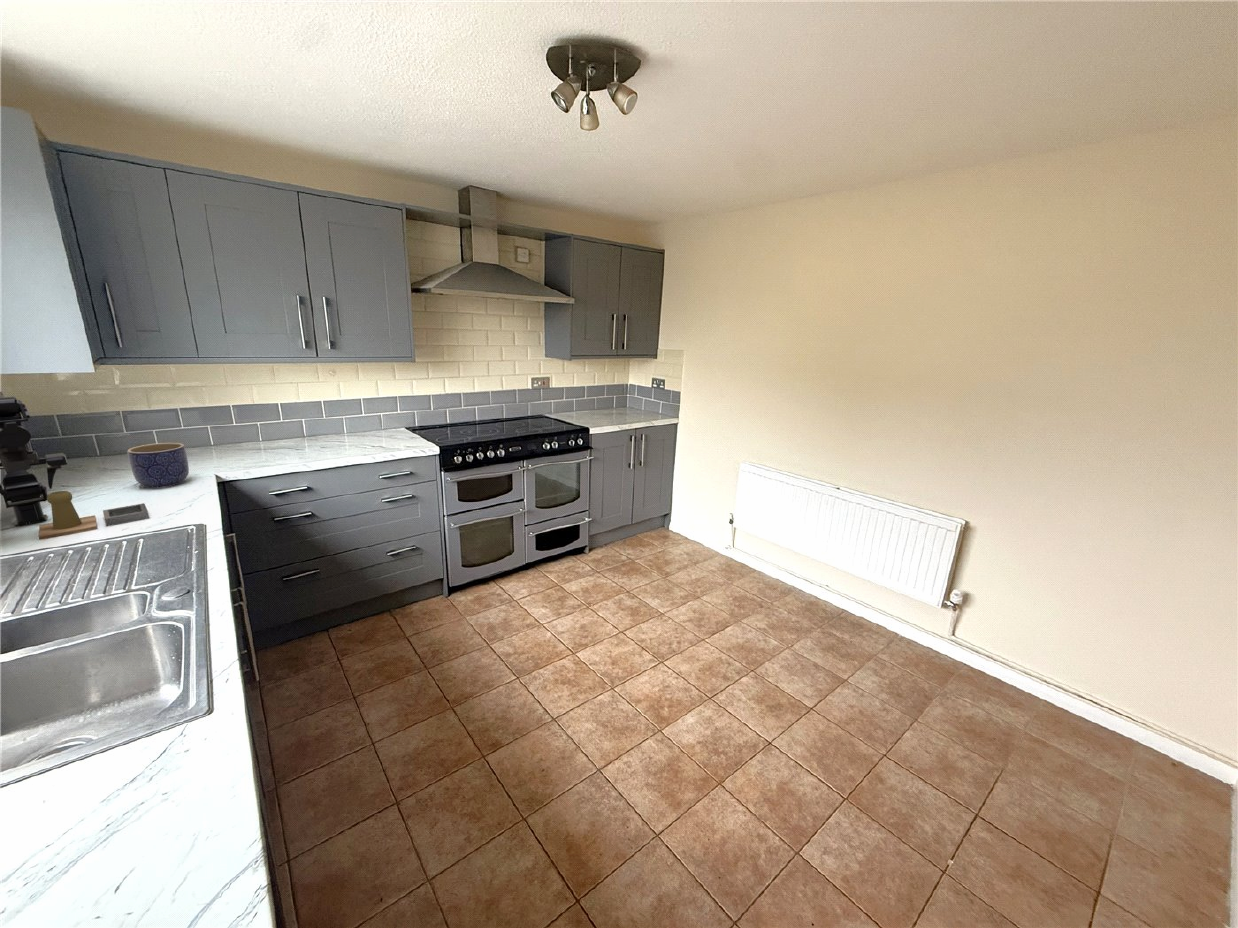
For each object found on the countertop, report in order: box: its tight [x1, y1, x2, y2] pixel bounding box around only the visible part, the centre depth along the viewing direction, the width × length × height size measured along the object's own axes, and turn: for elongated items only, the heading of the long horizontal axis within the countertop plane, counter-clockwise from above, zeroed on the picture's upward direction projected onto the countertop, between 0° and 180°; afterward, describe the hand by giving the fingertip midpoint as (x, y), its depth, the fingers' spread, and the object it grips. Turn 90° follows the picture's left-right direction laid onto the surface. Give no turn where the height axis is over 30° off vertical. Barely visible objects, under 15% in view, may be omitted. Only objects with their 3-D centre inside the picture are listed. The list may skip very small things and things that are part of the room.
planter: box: [126, 442, 190, 489], centre depth 193 cm, size 16×16×15 cm
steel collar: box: [102, 502, 150, 527], centre depth 162 cm, size 10×10×2 cm
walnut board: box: [37, 514, 98, 541], centre depth 153 cm, size 12×12×1 cm
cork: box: [46, 490, 82, 529], centre depth 151 cm, size 6×6×11 cm
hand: (27, 491), depth 146 cm, fingers open, 9 cm apart
